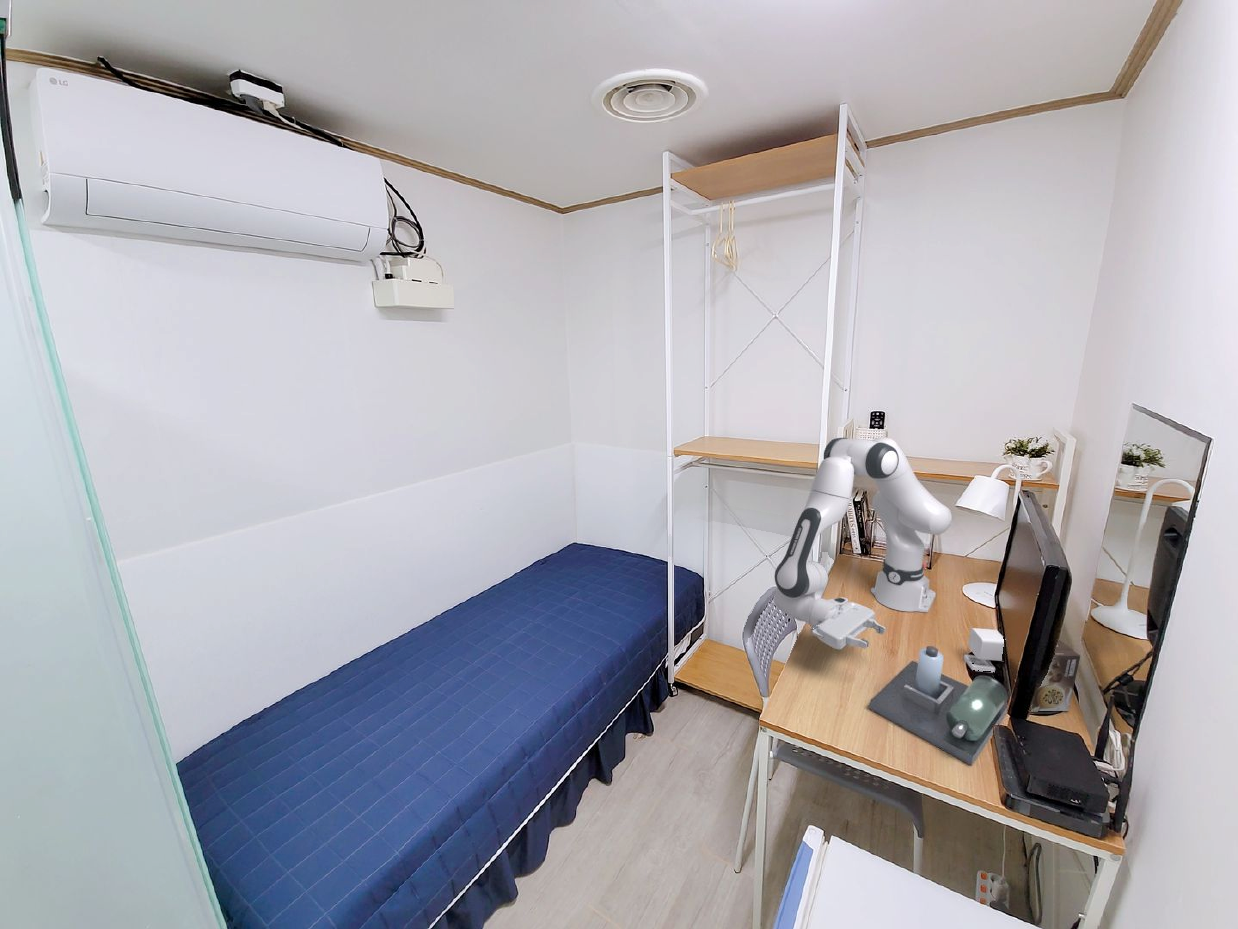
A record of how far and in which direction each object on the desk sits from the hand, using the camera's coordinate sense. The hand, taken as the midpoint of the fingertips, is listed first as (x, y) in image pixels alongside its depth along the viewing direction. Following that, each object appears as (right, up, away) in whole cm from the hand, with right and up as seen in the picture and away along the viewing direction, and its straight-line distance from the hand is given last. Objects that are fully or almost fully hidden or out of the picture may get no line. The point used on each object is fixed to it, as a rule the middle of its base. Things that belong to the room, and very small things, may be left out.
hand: (876, 638), depth 132 cm
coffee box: (+37, -14, -8) cm, 40 cm away
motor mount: (+10, -15, -10) cm, 20 cm away
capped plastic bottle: (+8, -12, -8) cm, 16 cm away
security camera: (+33, -10, +6) cm, 35 cm away
